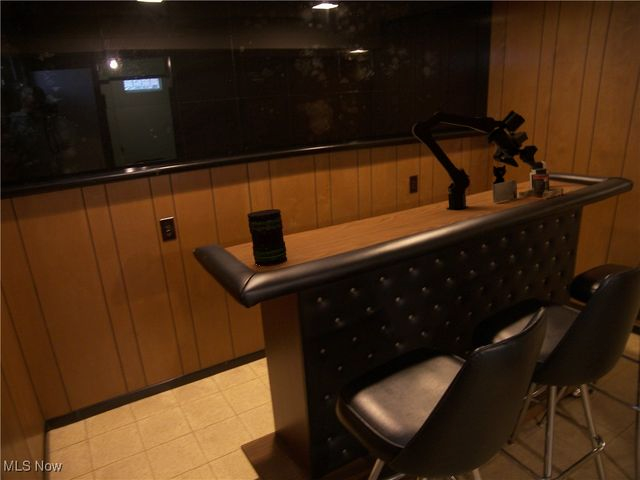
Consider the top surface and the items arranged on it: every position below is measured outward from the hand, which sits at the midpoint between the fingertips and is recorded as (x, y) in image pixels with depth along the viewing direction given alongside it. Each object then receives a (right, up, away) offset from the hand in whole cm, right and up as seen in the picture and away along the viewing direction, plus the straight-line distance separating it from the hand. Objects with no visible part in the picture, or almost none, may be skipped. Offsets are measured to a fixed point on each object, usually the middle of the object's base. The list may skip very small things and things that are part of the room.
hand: (526, 166), depth 183 cm
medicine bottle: (+18, -6, +27) cm, 33 cm away
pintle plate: (-2, -12, +6) cm, 14 cm away
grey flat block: (-7, -13, +4) cm, 15 cm away
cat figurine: (+4, -5, +36) cm, 37 cm away
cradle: (+9, -11, +5) cm, 15 cm away
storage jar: (-97, -36, -48) cm, 114 cm away
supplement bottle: (+9, -12, +5) cm, 15 cm away
